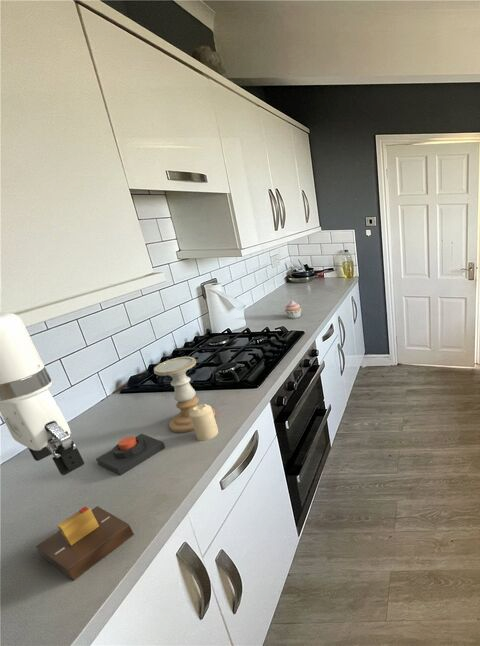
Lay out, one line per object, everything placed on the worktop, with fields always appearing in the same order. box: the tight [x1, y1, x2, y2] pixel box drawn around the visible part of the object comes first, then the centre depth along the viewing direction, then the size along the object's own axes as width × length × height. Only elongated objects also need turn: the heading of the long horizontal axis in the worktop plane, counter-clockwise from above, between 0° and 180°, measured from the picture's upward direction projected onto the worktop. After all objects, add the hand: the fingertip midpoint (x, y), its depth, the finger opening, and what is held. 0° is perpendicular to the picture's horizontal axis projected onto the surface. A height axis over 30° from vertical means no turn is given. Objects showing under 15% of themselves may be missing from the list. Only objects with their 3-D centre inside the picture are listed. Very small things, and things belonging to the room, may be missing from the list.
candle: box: [189, 403, 219, 442], centre depth 101 cm, size 6×6×10 cm
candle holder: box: [153, 356, 216, 434], centre depth 106 cm, size 12×12×20 cm
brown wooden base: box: [35, 506, 135, 581], centre depth 71 cm, size 10×12×3 cm
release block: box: [95, 433, 166, 477], centre depth 95 cm, size 11×10×4 cm
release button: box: [117, 435, 137, 450], centre depth 94 cm, size 4×4×2 cm
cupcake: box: [284, 300, 303, 320], centre depth 198 cm, size 9×9×10 cm
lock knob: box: [56, 506, 99, 546], centre depth 69 cm, size 5×2×5 cm, turn 157°
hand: (59, 462), depth 66 cm, fingers open, 9 cm apart
